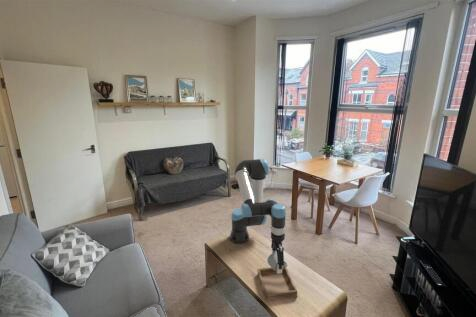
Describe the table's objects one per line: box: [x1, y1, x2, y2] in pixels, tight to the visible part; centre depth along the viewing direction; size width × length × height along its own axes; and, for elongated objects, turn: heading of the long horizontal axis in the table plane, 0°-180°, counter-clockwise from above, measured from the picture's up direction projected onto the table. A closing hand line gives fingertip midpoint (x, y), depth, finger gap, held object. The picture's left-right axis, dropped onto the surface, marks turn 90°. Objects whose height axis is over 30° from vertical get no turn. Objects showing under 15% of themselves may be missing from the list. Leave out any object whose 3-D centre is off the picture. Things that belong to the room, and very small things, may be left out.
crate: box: [257, 266, 298, 302], centre depth 136 cm, size 20×18×4 cm
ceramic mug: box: [266, 253, 288, 272], centre depth 133 cm, size 11×8×8 cm
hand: (276, 266), depth 133 cm, fingers closed on ceramic mug, 9 cm apart
